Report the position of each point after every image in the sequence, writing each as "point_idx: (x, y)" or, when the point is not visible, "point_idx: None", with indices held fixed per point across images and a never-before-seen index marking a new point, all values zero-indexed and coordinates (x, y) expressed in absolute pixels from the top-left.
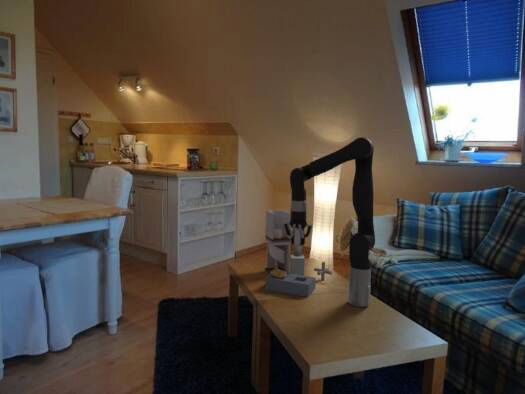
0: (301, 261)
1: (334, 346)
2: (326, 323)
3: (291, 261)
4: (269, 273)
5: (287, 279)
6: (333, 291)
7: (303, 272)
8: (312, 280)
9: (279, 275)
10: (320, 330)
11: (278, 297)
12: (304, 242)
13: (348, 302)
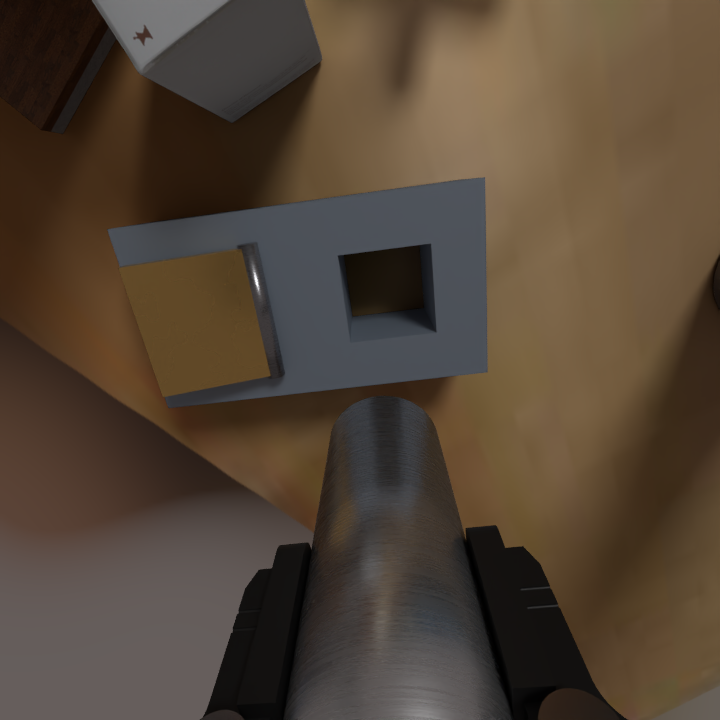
0: (263, 5)
1: (670, 658)
2: (623, 551)
3: (162, 84)
4: (8, 99)
5: (310, 356)
6: (596, 143)
7: (308, 36)
8: (483, 268)
9: (244, 377)
10: (610, 602)
11: (326, 431)
12: (539, 593)
13: (715, 297)
